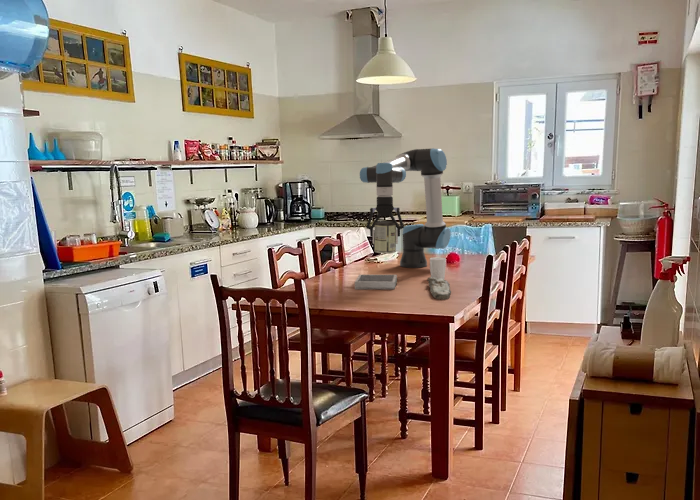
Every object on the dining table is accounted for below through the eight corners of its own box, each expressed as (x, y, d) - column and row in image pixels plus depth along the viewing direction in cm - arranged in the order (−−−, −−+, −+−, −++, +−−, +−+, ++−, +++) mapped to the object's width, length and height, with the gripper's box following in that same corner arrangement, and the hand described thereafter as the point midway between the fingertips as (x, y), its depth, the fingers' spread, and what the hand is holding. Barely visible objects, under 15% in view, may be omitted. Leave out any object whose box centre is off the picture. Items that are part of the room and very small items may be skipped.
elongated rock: (429, 303, 252) (453, 304, 251) (430, 291, 251) (454, 292, 250) (426, 282, 286) (447, 283, 285) (426, 271, 285) (447, 272, 284)
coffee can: (378, 249, 288) (378, 220, 286) (398, 250, 284) (399, 221, 282) (370, 252, 279) (371, 222, 276) (392, 254, 275) (392, 223, 273)
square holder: (359, 281, 294) (359, 274, 293) (396, 281, 291) (396, 274, 291) (354, 289, 276) (354, 281, 275) (394, 289, 273) (394, 282, 273)
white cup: (445, 280, 293) (445, 259, 291) (429, 279, 294) (429, 259, 293) (446, 277, 300) (446, 257, 299) (430, 276, 302) (430, 257, 301)
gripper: (359, 197, 275) (360, 244, 278) (409, 196, 272) (409, 244, 276) (361, 196, 282) (361, 242, 286) (409, 195, 280) (409, 242, 283)
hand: (385, 243), depth 281 cm, fingers closed on coffee can, 10 cm apart
